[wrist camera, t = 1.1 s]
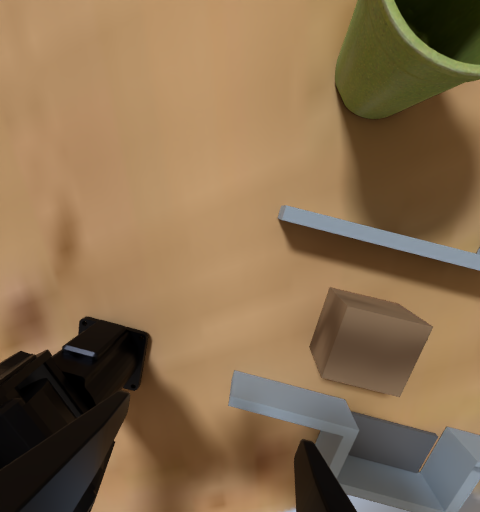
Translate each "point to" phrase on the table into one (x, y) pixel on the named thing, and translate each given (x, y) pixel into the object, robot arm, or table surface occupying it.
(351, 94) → the plant pot
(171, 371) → the table surface
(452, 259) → the grey zigzag track
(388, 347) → the block
